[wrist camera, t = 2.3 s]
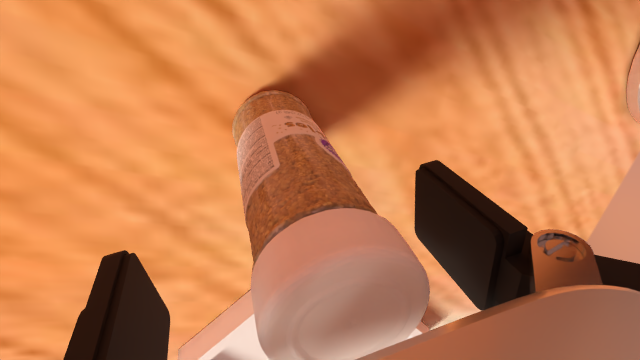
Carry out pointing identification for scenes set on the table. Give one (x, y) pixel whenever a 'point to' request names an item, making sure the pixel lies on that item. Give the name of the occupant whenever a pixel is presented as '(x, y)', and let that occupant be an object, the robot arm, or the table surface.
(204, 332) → the tray
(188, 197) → the table surface
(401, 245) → the sprinkles bottle
